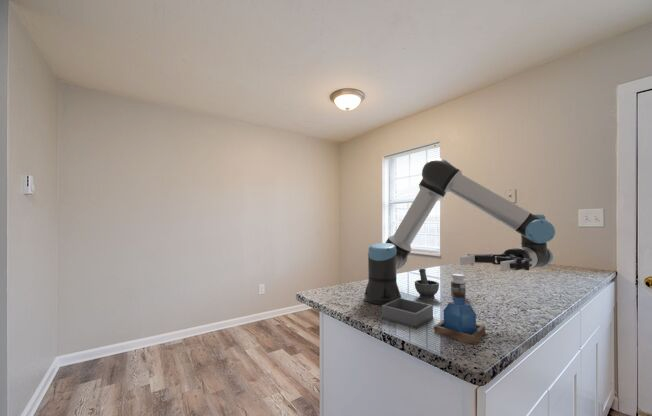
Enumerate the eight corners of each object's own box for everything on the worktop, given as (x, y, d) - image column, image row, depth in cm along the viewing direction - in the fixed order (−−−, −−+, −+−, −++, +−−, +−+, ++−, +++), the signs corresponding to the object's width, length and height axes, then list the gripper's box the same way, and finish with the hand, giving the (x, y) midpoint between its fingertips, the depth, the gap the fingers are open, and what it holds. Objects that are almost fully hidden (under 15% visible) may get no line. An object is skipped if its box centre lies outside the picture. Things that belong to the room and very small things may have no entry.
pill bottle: (448, 296, 122) (447, 274, 122) (457, 295, 124) (457, 273, 124) (459, 300, 117) (458, 276, 117) (468, 298, 119) (468, 275, 119)
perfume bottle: (461, 338, 79) (460, 296, 80) (443, 330, 85) (443, 291, 85) (476, 335, 82) (475, 294, 82) (458, 327, 87) (457, 289, 88)
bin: (381, 318, 95) (381, 305, 95) (399, 310, 104) (399, 298, 104) (416, 329, 86) (416, 314, 86) (433, 318, 95) (432, 305, 95)
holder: (434, 333, 83) (434, 326, 83) (447, 323, 91) (447, 316, 91) (474, 344, 75) (474, 337, 75) (485, 332, 83) (485, 325, 83)
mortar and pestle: (442, 301, 114) (442, 272, 115) (420, 301, 114) (420, 272, 115) (431, 294, 126) (431, 267, 126) (411, 294, 125) (410, 267, 126)
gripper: (562, 275, 86) (522, 282, 77) (485, 264, 109) (447, 269, 99) (561, 251, 87) (521, 255, 77) (484, 245, 109) (447, 248, 99)
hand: (480, 263), depth 88 cm, fingers open, 13 cm apart
